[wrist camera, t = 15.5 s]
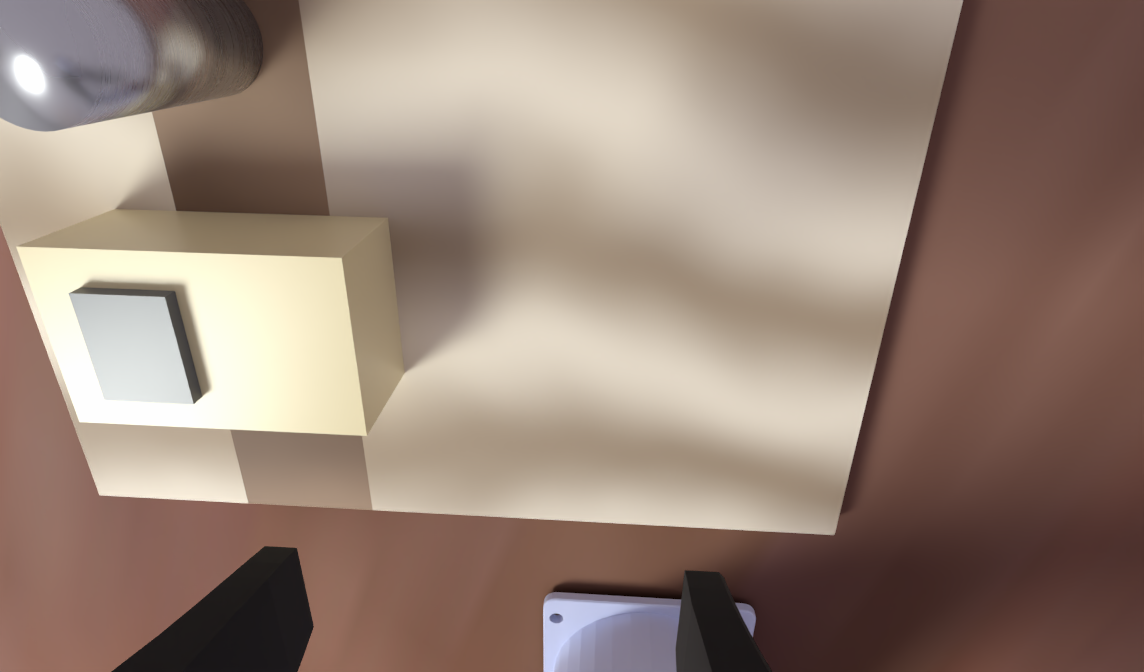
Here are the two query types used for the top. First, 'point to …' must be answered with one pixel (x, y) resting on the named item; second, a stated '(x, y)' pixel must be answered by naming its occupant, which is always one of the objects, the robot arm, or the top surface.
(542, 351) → the subfloor board
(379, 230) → the cream rectangular block
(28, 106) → the silver metal cylinder
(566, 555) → the top surface
